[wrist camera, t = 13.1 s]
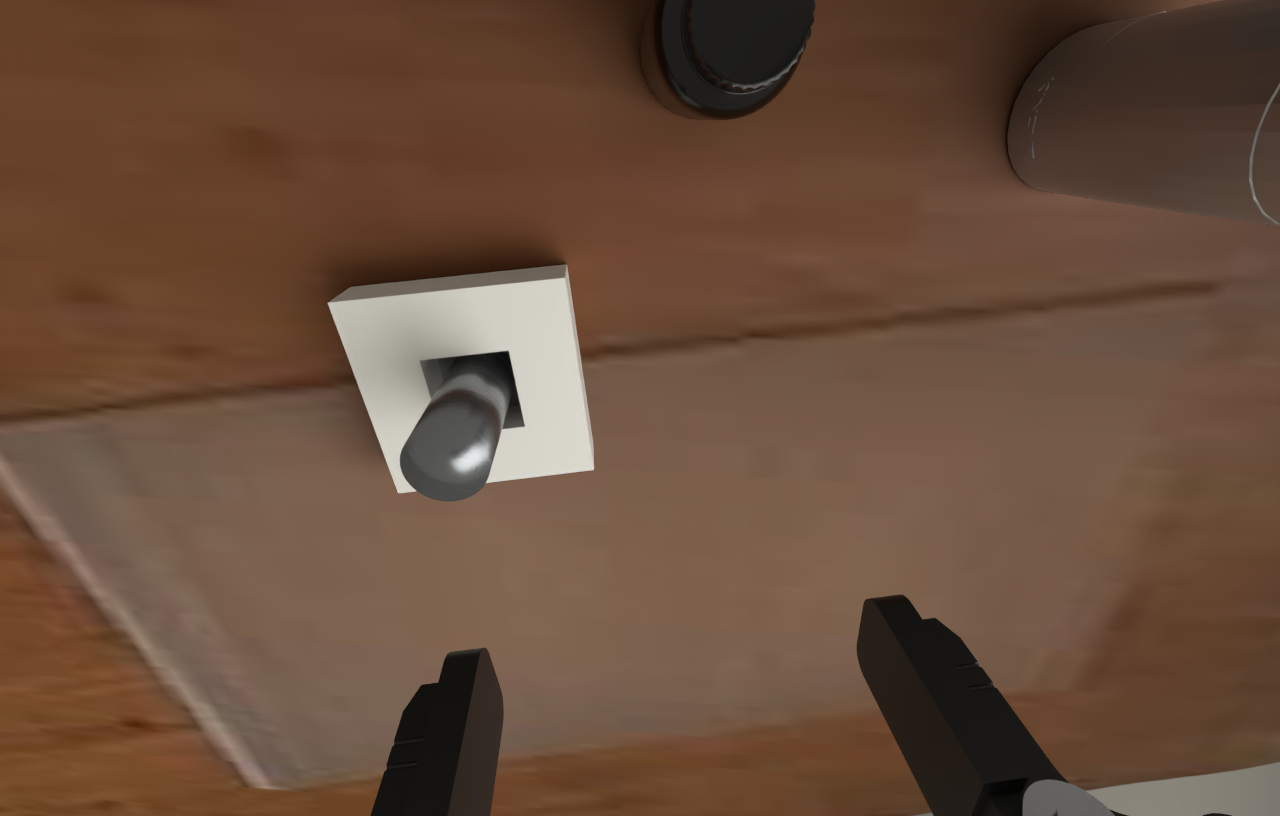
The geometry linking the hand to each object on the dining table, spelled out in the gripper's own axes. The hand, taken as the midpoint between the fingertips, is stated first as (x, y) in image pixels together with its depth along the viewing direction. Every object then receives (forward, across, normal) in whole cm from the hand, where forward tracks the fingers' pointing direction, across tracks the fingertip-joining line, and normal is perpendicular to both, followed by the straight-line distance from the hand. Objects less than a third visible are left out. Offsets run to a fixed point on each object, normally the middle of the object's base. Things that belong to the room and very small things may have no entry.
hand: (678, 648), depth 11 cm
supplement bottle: (+28, -6, -13) cm, 32 cm away
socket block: (+28, +10, +5) cm, 30 cm away
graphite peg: (+28, +10, +5) cm, 30 cm away
